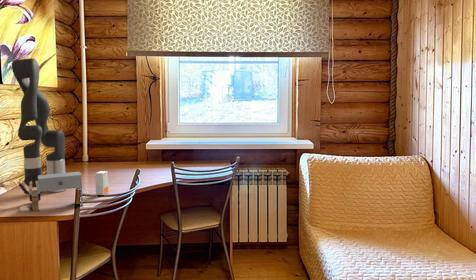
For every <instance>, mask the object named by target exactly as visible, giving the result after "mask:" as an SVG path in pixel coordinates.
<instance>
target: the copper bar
mask: <svg viewBox="0 0 476 280" xmlns="http://www.w3.org/2000/svg"><path fill="white" fill-rule="evenodd" d="M31 203H32V204H31V206H32V212H39V207H40V206H39V202H38V192H37V189H35V190H33V189H32V202H31Z"/></svg>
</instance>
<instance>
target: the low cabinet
mask: <svg viewBox="0 0 476 280" xmlns="http://www.w3.org/2000/svg"><path fill="white" fill-rule="evenodd" d="M82 182H83V180H82V174H81V171H75V172H74V171H73V172H72V171H71V172H65V173H59V174H48V175H47V174H42V175H38V185H39V192H42V193H44V192H49V191H53V190H62V189H66V190H72V189H77V188H79V189H81V194H82V195H83V183H82ZM43 191H44V192H43ZM81 201H83V202H84V198H83V197H81ZM80 207H84V203H83V204H81V206H80Z"/></svg>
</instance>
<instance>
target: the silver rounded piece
mask: <svg viewBox="0 0 476 280" xmlns="http://www.w3.org/2000/svg"><path fill="white" fill-rule="evenodd" d="M19 211H20V213H29V212H33V207H32V204H31V205H30V204H29V205H22V206H20V207H19Z"/></svg>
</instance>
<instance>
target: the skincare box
mask: <svg viewBox="0 0 476 280" xmlns="http://www.w3.org/2000/svg"><path fill="white" fill-rule="evenodd" d="M94 175H95V176H94V177H95V195H104V196H106V195H108V194H109V175H108V171H107V170H106V171H105V170H100V171H97V172H95V173H94Z"/></svg>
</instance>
